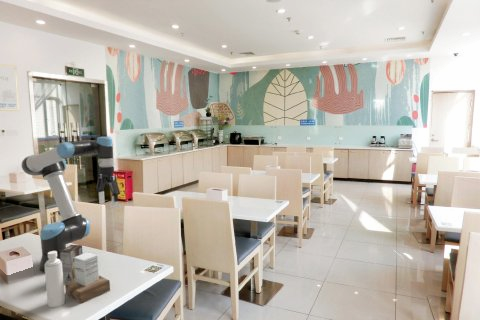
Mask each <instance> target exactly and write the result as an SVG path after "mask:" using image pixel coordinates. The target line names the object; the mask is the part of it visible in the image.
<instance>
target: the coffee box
mask: <svg viewBox="0 0 480 320" xmlns="http://www.w3.org/2000/svg"><path fill="white" fill-rule="evenodd" d="M81 254H84V253H83V244H70V245H67V246H66V248H65V249H63V250H61V251H60V260H61V262H62V270H63V282H64V283H68V282H71V281H73V280H76V277H75V262H74V257H76V256H79V255H81Z"/></svg>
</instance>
